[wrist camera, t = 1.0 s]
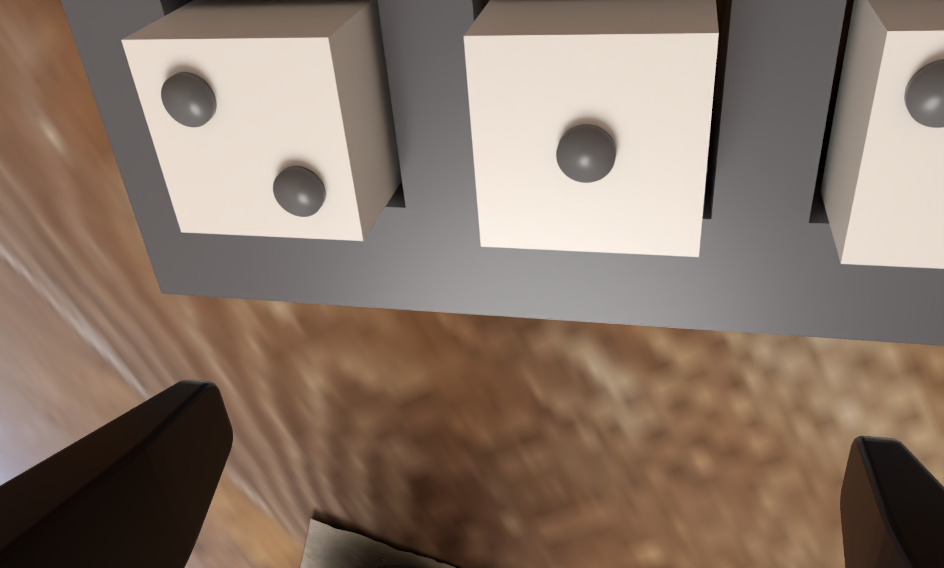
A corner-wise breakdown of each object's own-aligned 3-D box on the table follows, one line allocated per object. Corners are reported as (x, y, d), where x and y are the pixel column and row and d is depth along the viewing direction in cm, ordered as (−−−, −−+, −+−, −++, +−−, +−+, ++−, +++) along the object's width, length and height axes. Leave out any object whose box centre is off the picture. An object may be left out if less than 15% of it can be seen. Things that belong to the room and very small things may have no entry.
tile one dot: (714, -13, 16) (719, 36, 14) (698, 187, 18) (698, 262, 16) (495, -8, 17) (461, 39, 14) (507, 182, 19) (478, 251, 17)
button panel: (1350, -260, 13) (1467, -258, 11) (1114, 294, 19) (1162, 360, 17) (82, -164, 19) (8, -152, 17) (204, 247, 25) (161, 293, 23)
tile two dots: (378, -5, 18) (324, 40, 15) (403, 179, 20) (360, 245, 17) (195, -1, 19) (115, 42, 16) (239, 174, 21) (176, 236, 18)
